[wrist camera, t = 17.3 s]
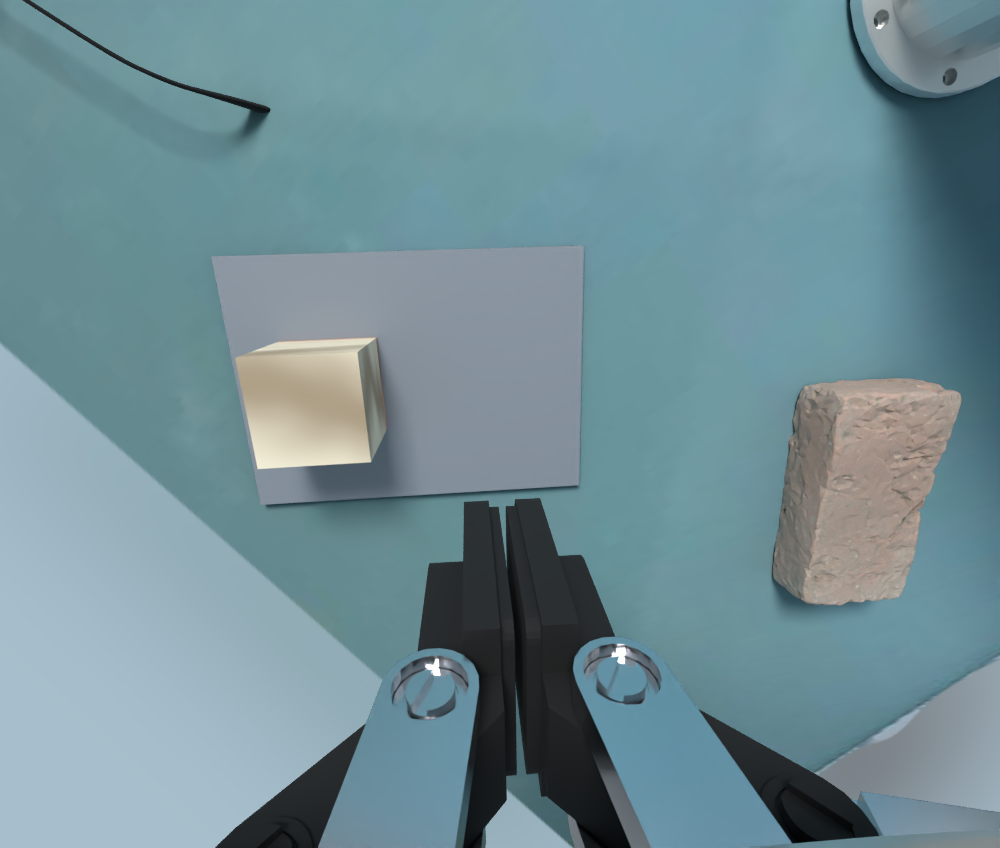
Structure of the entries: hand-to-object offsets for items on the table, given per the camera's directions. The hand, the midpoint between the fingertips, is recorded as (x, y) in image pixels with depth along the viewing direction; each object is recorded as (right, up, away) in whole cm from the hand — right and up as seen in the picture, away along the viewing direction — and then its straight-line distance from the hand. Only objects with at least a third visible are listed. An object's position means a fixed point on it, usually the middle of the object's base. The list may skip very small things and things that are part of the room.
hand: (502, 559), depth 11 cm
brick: (+25, -1, +26) cm, 37 cm away
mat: (-6, +6, +21) cm, 23 cm away
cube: (-10, +4, +14) cm, 18 cm away
